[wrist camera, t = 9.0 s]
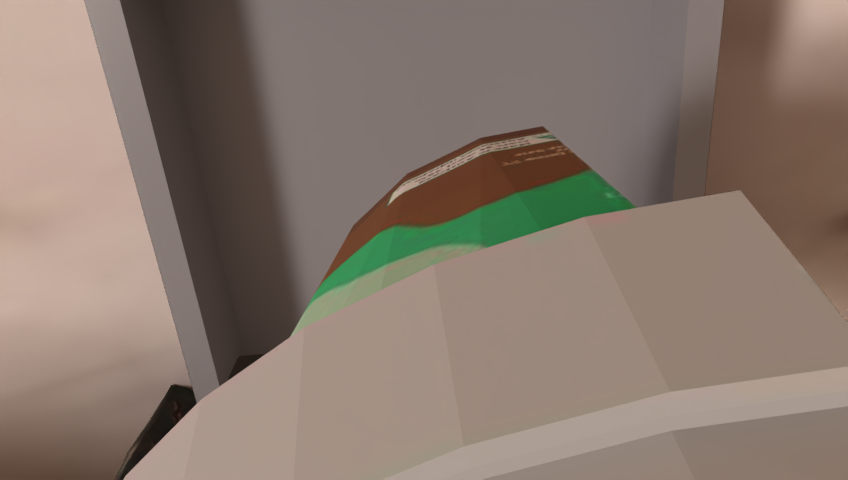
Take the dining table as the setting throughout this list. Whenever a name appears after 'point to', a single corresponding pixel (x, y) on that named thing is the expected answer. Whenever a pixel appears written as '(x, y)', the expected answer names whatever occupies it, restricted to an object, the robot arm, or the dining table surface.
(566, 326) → the food container
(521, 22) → the tray
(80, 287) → the dining table surface
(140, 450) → the teal animal figurine
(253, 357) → the robot arm
